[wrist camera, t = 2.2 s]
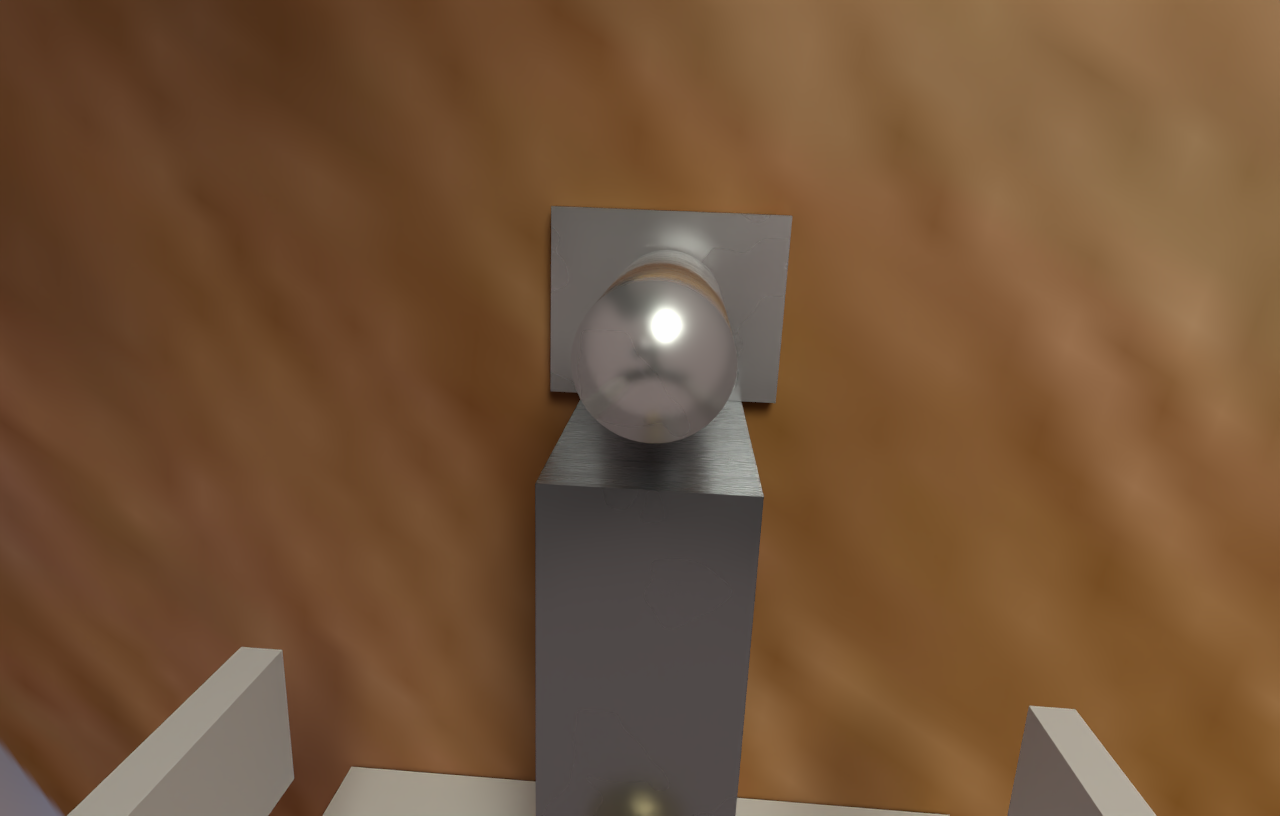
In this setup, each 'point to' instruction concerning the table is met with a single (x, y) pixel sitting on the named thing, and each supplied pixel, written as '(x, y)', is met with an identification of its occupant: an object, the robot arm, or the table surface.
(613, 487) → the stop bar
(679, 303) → the grey knobbed fixture
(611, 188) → the table surface
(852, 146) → the table surface
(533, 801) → the door edge
